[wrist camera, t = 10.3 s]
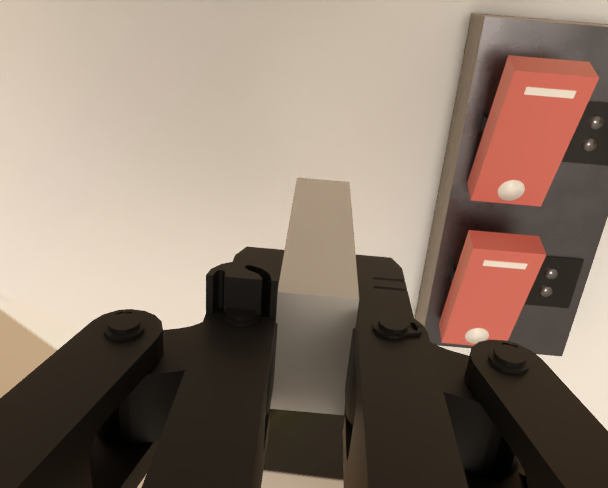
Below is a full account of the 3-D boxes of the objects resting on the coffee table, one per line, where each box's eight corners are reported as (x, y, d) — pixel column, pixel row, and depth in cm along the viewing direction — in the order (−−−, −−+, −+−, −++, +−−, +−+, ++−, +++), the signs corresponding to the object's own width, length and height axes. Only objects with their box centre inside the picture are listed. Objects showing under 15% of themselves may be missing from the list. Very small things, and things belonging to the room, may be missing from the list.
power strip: (471, 13, 41) (490, 18, 36) (638, 27, 41) (680, 33, 36) (414, 318, 52) (423, 354, 47) (545, 329, 52) (568, 367, 47)
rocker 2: (468, 230, 41) (473, 248, 39) (539, 236, 41) (546, 255, 39) (438, 324, 47) (441, 343, 45) (499, 329, 47) (504, 348, 45)
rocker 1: (508, 55, 35) (515, 71, 34) (589, 61, 35) (599, 78, 34) (466, 183, 42) (470, 201, 41) (534, 189, 42) (541, 206, 41)
